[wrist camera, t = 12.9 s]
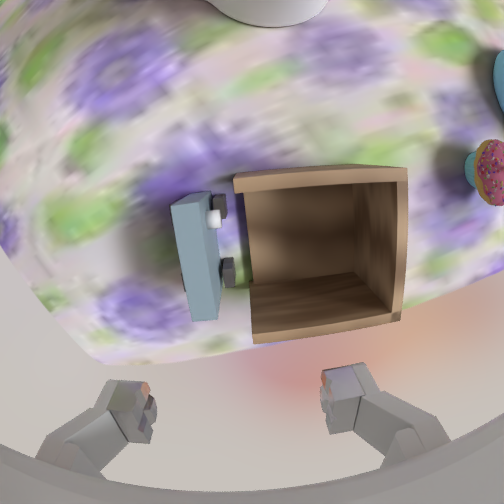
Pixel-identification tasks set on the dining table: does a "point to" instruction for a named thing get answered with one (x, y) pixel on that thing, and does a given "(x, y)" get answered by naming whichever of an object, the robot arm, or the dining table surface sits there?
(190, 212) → the door
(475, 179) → the cupcake
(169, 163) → the dining table surface
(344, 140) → the dining table surface
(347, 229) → the cabinet
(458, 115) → the dining table surface
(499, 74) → the sugar bowl
